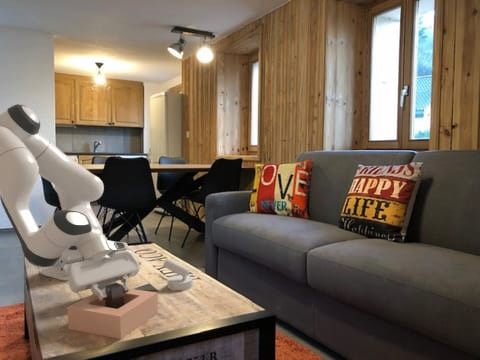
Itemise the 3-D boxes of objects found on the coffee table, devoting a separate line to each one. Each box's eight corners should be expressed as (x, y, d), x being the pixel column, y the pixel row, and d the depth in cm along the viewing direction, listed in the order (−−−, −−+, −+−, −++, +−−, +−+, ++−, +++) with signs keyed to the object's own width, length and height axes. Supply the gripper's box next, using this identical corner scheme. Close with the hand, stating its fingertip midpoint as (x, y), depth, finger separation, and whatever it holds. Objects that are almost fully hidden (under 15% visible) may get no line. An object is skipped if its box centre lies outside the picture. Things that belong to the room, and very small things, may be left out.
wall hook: (168, 255, 142) (195, 256, 140) (169, 281, 143) (195, 282, 141) (159, 262, 134) (187, 263, 132) (159, 289, 134) (187, 291, 132)
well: (68, 328, 106) (67, 307, 105) (110, 304, 122) (109, 285, 121) (121, 339, 100) (120, 316, 99) (157, 312, 116) (157, 292, 115)
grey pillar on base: (101, 320, 111) (100, 286, 110) (119, 314, 114) (117, 281, 114) (111, 326, 107) (110, 290, 106) (129, 320, 111) (128, 285, 110)
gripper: (63, 255, 106) (82, 300, 100) (131, 241, 121) (150, 280, 115) (57, 268, 110) (75, 312, 104) (123, 253, 124) (142, 291, 119)
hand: (115, 295), depth 110 cm, fingers open, 5 cm apart
